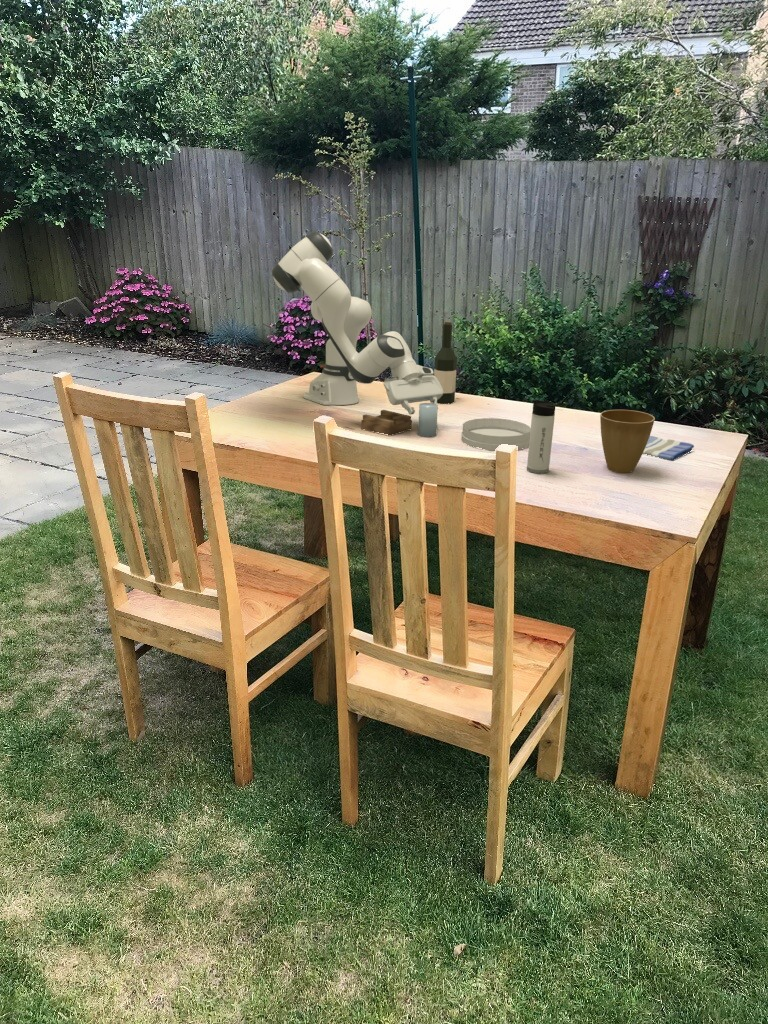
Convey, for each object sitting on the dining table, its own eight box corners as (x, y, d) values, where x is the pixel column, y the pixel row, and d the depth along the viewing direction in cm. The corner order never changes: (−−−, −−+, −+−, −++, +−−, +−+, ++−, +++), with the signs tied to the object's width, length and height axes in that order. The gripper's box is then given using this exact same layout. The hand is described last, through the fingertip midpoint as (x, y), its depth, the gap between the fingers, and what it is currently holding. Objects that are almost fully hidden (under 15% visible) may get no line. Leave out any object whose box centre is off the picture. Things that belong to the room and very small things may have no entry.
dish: (533, 436, 259) (534, 421, 257) (526, 455, 239) (528, 439, 238) (467, 430, 264) (467, 415, 263) (455, 448, 245) (456, 432, 243)
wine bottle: (454, 399, 304) (459, 321, 293) (454, 404, 297) (459, 324, 286) (433, 398, 305) (437, 320, 294) (432, 403, 297) (436, 323, 286)
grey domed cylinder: (414, 434, 256) (415, 405, 253) (425, 431, 260) (426, 402, 257) (428, 438, 253) (430, 408, 249) (439, 435, 257) (441, 405, 253)
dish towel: (627, 436, 263) (628, 428, 262) (695, 452, 248) (697, 443, 247) (601, 446, 251) (602, 437, 250) (671, 463, 236) (672, 454, 235)
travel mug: (532, 465, 229) (539, 398, 222) (552, 470, 225) (560, 402, 218) (521, 470, 224) (528, 401, 217) (542, 475, 221) (549, 405, 213)
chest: (361, 429, 261) (361, 414, 259) (384, 422, 270) (384, 408, 268) (388, 436, 254) (389, 421, 252) (411, 429, 263) (412, 414, 261)
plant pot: (606, 458, 237) (613, 406, 232) (654, 469, 229) (663, 415, 223) (584, 469, 227) (591, 415, 221) (634, 481, 218) (642, 425, 212)
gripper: (385, 373, 251) (402, 410, 247) (436, 368, 262) (452, 403, 258) (377, 384, 256) (393, 420, 252) (427, 379, 267) (443, 413, 263)
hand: (424, 411), depth 255 cm, fingers open, 8 cm apart
